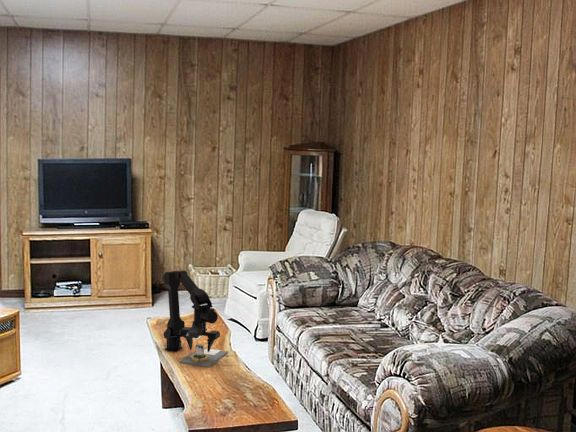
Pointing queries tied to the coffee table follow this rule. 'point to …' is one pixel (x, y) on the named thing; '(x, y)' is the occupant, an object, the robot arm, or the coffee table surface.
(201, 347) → the peg
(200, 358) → the brass octagonal ring
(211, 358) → the board
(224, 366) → the coffee table surface
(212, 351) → the mat
